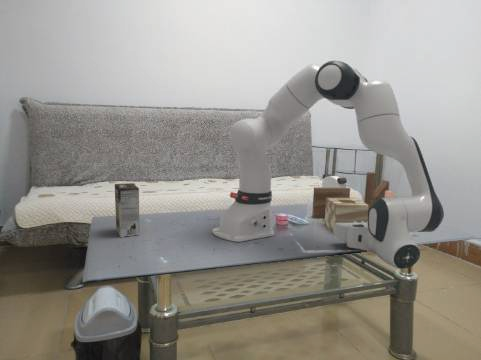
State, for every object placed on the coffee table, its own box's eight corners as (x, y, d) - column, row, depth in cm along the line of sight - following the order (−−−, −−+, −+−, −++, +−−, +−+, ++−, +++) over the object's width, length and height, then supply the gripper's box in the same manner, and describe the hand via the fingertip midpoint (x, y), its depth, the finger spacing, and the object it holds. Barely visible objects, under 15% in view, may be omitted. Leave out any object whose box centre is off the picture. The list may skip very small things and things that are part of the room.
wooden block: (386, 213, 159) (390, 172, 156) (367, 215, 154) (370, 173, 151) (380, 211, 162) (383, 171, 159) (361, 213, 158) (364, 172, 155)
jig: (374, 237, 125) (378, 200, 123) (329, 238, 123) (332, 200, 121) (347, 219, 147) (350, 187, 145) (309, 219, 145) (311, 187, 143)
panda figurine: (350, 210, 162) (353, 177, 159) (331, 213, 156) (333, 178, 154) (331, 204, 172) (334, 173, 170) (313, 207, 167) (315, 174, 164)
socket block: (366, 233, 126) (368, 204, 124) (335, 233, 125) (337, 204, 123) (352, 224, 137) (355, 197, 135) (324, 224, 135) (326, 197, 134)
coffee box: (115, 230, 125) (114, 183, 123) (134, 227, 128) (133, 182, 126) (119, 237, 117) (118, 188, 115) (140, 235, 120) (139, 187, 118)
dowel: (388, 229, 134) (392, 192, 132) (380, 227, 137) (383, 191, 134) (392, 228, 137) (396, 191, 134) (384, 226, 139) (387, 190, 137)
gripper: (412, 226, 107) (388, 214, 120) (345, 226, 105) (328, 214, 118) (409, 246, 108) (386, 232, 122) (343, 247, 106) (327, 232, 119)
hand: (357, 223), depth 120 cm, fingers closed
